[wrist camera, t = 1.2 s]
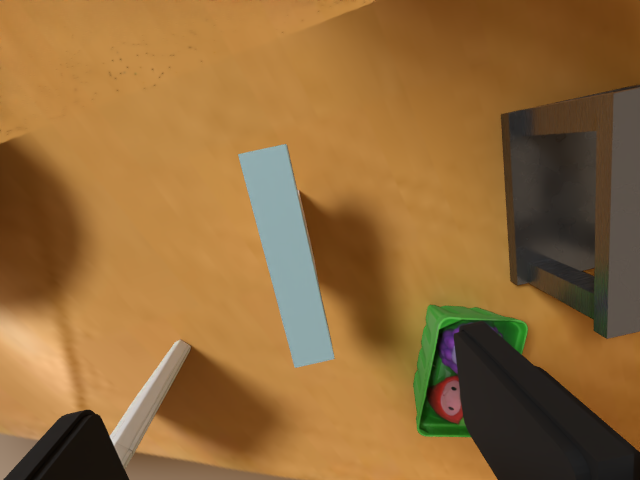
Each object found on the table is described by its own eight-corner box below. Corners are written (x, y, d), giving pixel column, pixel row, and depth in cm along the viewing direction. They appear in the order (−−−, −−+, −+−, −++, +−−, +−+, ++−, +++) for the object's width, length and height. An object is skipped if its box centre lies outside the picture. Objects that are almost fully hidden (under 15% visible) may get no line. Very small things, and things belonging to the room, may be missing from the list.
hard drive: (193, 346, 31) (128, 471, 19) (147, 408, 32) (58, 562, 20) (177, 337, 30) (100, 458, 18) (131, 400, 32) (31, 552, 20)
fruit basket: (417, 290, 31) (483, 366, 20) (506, 296, 32) (617, 371, 21) (398, 395, 34) (446, 511, 23) (481, 397, 34) (566, 511, 24)
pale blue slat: (258, 153, 27) (238, 154, 17) (289, 147, 27) (285, 144, 17) (295, 298, 30) (294, 367, 20) (321, 292, 30) (334, 358, 21)
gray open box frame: (500, 114, 27) (613, 93, 18) (647, 82, 27) (838, 44, 18) (510, 281, 31) (607, 338, 22) (638, 252, 31) (791, 296, 22)
